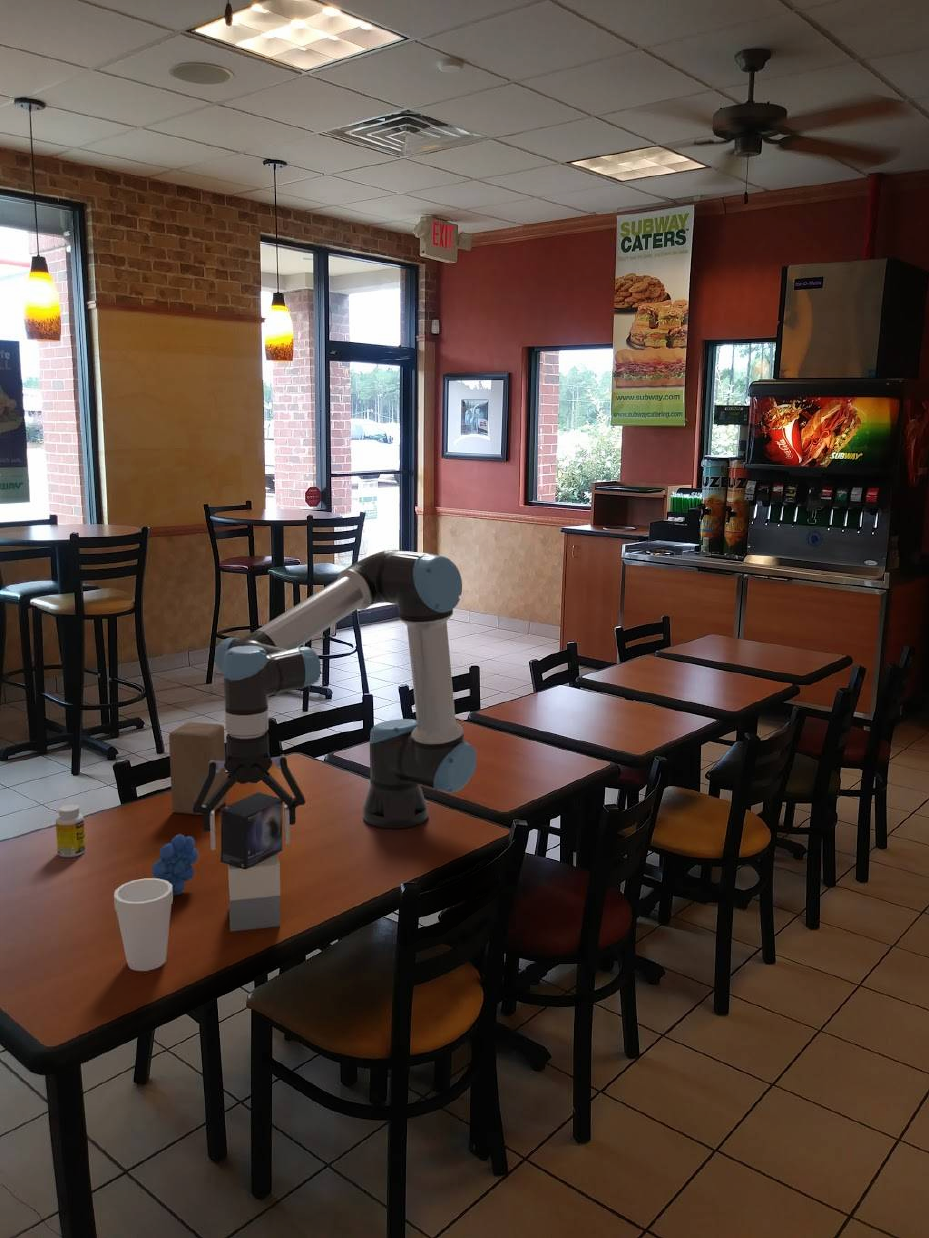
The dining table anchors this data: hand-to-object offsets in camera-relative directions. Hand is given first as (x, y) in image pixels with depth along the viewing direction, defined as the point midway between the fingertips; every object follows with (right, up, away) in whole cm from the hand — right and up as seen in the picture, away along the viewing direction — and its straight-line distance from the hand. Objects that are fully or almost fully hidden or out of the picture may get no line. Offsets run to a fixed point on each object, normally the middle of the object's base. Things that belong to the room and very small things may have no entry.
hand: (250, 843), depth 182 cm
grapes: (-18, -13, +12) cm, 25 cm away
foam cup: (-15, -17, -13) cm, 26 cm away
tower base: (0, -14, +3) cm, 15 cm away
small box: (0, -3, +1) cm, 3 cm away
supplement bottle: (-45, -9, +30) cm, 54 cm away
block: (-24, -4, +56) cm, 61 cm away
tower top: (0, -8, +2) cm, 9 cm away
